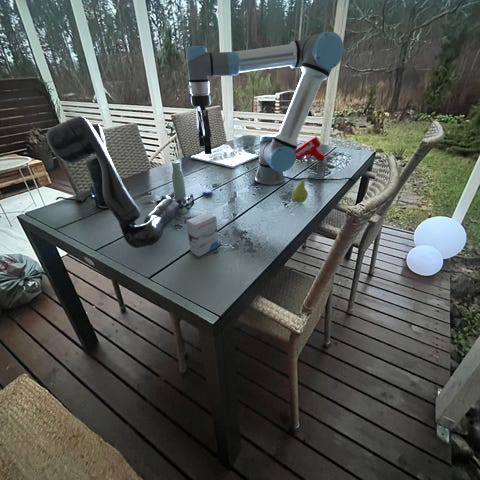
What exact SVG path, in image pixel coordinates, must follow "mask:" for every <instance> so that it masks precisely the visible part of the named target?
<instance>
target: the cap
mask: <svg viewBox="0 0 480 480" xmlns="http://www.w3.org/2000/svg"><path fill="white" fill-rule="evenodd" d="M202 196H203V197H205V198H208V197H209V198H210V197H212V196H213V190H212V189H210V188H205V189H203V190H202Z"/></svg>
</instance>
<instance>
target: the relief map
mask: <svg viewBox="0 0 480 480" xmlns="http://www.w3.org/2000/svg"><path fill="white" fill-rule="evenodd" d="M211 151H212V154H205V150H204V151H201V152H200V153H198V154H194V155H191V156H190V158H191V159H192V160H197V161H201V162H205V163H209V164H210V163H211V164H214V165H218V166H221V167H222V166H223V167H228V168H231V169H233V168H234V169H235V168H236V167H238V166H241V165H242V164H246V163H248V162H250V161H252V160H255V159H259V154H256V153H254V154H253V153H250V152H248V151H246V150H245V149H244V148H243V147H240V148H237V149H234V148H232V147H231V146H230V145H229V144H224V143H223V144H222V145H220V146H218V147H215V148H211Z"/></svg>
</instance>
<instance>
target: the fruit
mask: <svg viewBox="0 0 480 480" xmlns="http://www.w3.org/2000/svg"><path fill="white" fill-rule="evenodd" d="M305 178H306V179H305V180H300V182H298V184H297V185H296V186H295V187H294V188H293V190H292V191H291V198H292V200H293V201H294V202H295V203H297V204H301V203H304V202H305V201H306V200H307V198H308V196H309V195H308V190H307V189H306V184H305V183H306V180H308V179H307V178H311V175H310V174H309V175H308V176H307V177H305Z"/></svg>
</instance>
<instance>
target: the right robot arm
mask: <svg viewBox="0 0 480 480" xmlns="http://www.w3.org/2000/svg"><path fill="white" fill-rule="evenodd" d="M344 48H345V47H344V42H343V39H342V37H341V36H340V34H338V33H336V32H334V31H323V32H321V33H317V34H313V35H309V36H307V37H304V38H301V39H298V40H292V41H290V43H289V44H282V45H275V46H274V45H273V46H268V47H260V48H259V47H258V48H252V49H244V50H236V51H221V52H217V51H216V52H208V50H207V47H206V46H205V45H190V46H187V48H186V49H185V56H186V66H187V74H188V75H187V76H188V84H189V85H187V88H189V91H190V92H189V93H190V94H191V96H190V102H191V103H190V104H191V106H192V107H195V110H196V111H195V113H196V128H197V132H198V133H197V134H198V142H199V147H200V148H201V147H203V148H204V152H205V154H212V151H211V150H212V141H211V140H212V139H211V137H212V132H211V125H210V119H209V110H208V109H206V107H210V106H211V105H212V104H211V95H210V93H211V89H210V79H209V77H232V76H233V77H234V76H238V75H239V74H240V73H247V72H253V71H261V70H267V69H276V68H283V67H290V69H296V68H297V69H298V68H300V70H301V72H302V73H301V77H300V79H299V82H298V84H297V87H296V89H295V91H294V94H293V97H292V99H291V102H290V104H289V106H288V109H287V111H286V114H285V116H284V119H283V121H282V124H281V126H280V129H279V131H278V132H277V133H276V134H263V135H261V136H260V138H259V153H258V167H257V171H256V174H255V178H254V181H255V183H258V184H259V185H262V186H263V185H264V186H279V185H281V184H283V183H284V181H285V179H287V180H290V181H291V180H292V181H302V180H305V179H306V178H307V177H299V178H298V177H297V178H295V177H291V176H290V177H289V176H285V175H284V172H287V171H289V170H291V168H293V166H294V165H295V163H296V161H295V160H296V154H295V151H296V149H297V148H298V147H299V143H298V138H299V136H300V134H301V131H302V130H303V129H302V128H303V127H304V125H305V122H306V119H307V117H308V115H309V112H310V110H311V108H312V106H313V104H314V102H315V99H316V97H317V94H318V93H319V90H320V88H321V85H322V83H323V82H324V81H326V80H327V79H328V78H329V76H330V75H331V73H332V70H333V69H334V68H335V67H337V66H338V65H339V64H340V62H341V61H342V58H343V56H344V50H345V49H344ZM306 180H313V181H343V180H349V181H353V179H352V178H351V177H350V178H345V179H334V178H320V179H315V177H309V178H307V179H306ZM306 180H305V181H306Z"/></svg>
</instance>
